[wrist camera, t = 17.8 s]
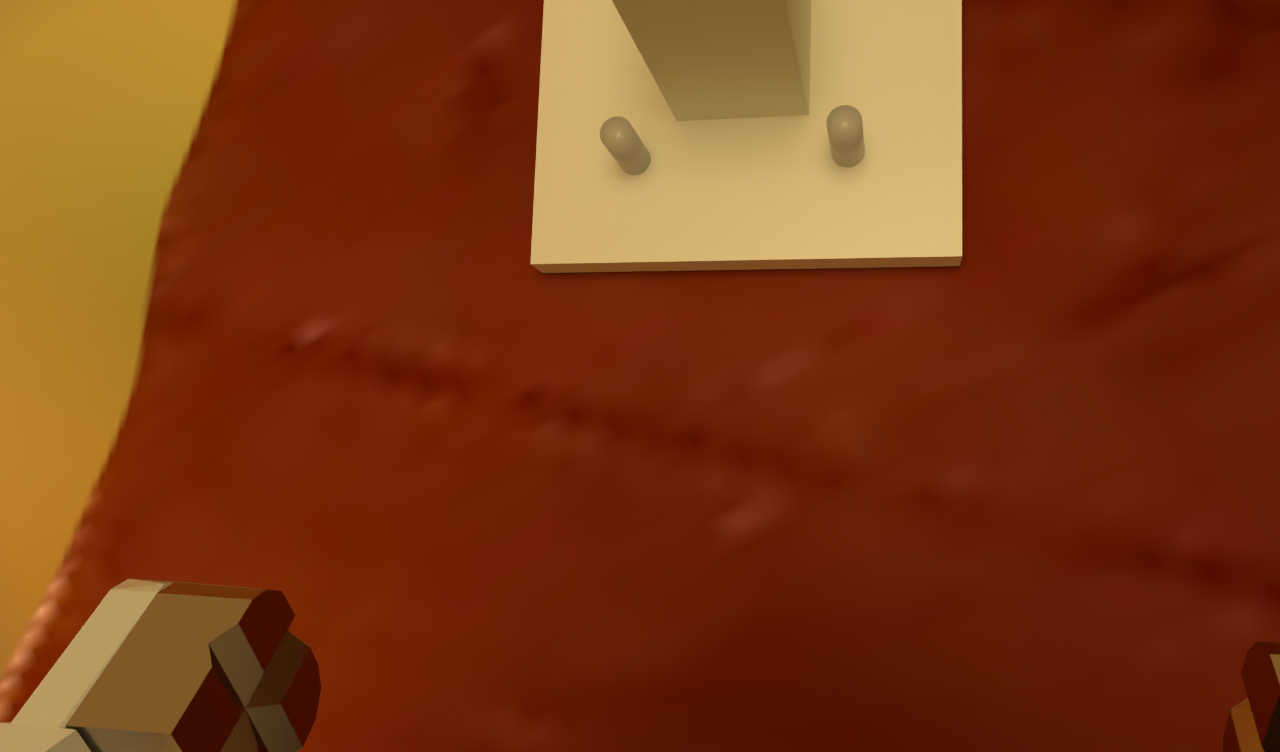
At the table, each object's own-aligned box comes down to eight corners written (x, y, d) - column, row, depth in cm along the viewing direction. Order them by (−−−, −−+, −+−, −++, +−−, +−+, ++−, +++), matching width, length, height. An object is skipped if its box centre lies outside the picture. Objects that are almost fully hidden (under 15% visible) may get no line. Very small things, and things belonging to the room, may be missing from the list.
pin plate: (959, -141, 42) (966, -217, 38) (959, 266, 40) (967, 233, 36) (561, -102, 46) (526, -168, 42) (542, 272, 44) (503, 244, 40)
